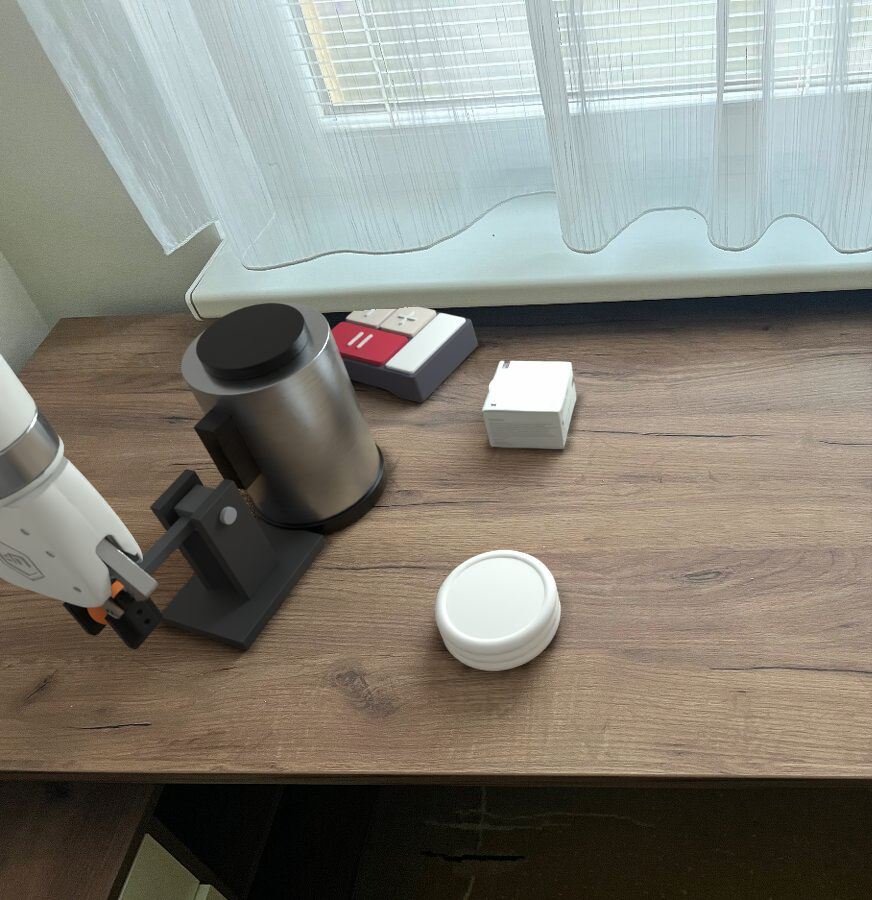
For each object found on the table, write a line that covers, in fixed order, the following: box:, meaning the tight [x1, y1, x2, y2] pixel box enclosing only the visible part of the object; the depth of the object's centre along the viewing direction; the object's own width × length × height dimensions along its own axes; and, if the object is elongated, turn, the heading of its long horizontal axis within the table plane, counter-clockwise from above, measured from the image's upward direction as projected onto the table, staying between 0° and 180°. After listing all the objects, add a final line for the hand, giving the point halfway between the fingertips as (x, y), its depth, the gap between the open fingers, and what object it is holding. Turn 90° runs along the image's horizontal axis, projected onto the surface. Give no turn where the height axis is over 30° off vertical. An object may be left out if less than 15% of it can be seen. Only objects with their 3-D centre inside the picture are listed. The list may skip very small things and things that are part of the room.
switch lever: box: [87, 484, 216, 626], centre depth 68 cm, size 13×3×3 cm, turn 159°
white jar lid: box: [434, 549, 562, 672], centre depth 71 cm, size 10×10×4 cm
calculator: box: [331, 306, 479, 403], centre depth 98 cm, size 11×4×15 cm
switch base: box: [149, 468, 327, 651], centre depth 74 cm, size 12×9×12 cm
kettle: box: [180, 302, 389, 536], centre depth 79 cm, size 15×13×19 cm
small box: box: [481, 360, 577, 450], centre depth 88 cm, size 8×8×5 cm
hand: (126, 625), depth 66 cm, fingers closed on switch lever, 3 cm apart
